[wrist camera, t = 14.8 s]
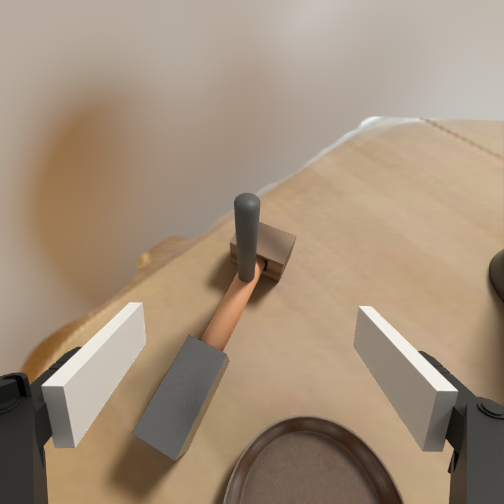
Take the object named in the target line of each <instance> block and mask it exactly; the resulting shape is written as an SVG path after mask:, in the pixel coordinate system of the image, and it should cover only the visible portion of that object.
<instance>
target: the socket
mask: <svg viewBox="0 0 504 504" xmlns="http://www.w3.org/2000/svg"><path fill="white" fill-rule="evenodd" d="M295 240H296V236H294V235H292V234H289V233H287V232H284V231H281V230H279V229H276V228H274V227H271V226H268V225H266V224H263V223H261V222H259V226H258V239H257V252H256V256H259V257H261V258H263V259H266V260H268V261H267V263H266V265H265V267H264V269H263V271H262V273H261V275H263V276H265V277H268V278H270V279H272V280H274V281H277V282H279V280H280V278H281V276H282V274H283V271H284V269H285V267H286V265H287V262H288V260H289V258H290V255H291V252H292V249H293V246H294V243H295ZM230 249H231V260H232V262H233V263H235V264H237V246H236V233H235V235H234V236H233V238H232V240H231V241H230ZM237 265H238V264H237Z"/></svg>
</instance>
